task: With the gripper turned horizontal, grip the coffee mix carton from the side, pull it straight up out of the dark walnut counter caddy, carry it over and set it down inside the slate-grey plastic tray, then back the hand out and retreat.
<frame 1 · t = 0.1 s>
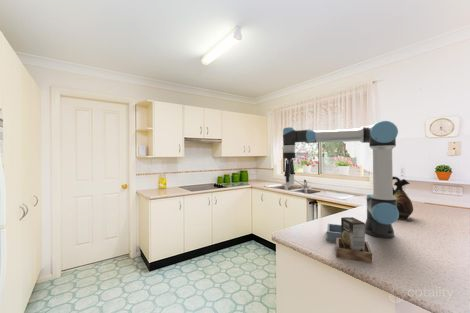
hand: (290, 185, 136), 28 cm above the table, tool pointing down, fingers open, 13 cm apart
walnut caddy: (352, 253, 103), on the table
slate tray: (342, 237, 122), on the table
ceramic jug: (398, 217, 158), on the table
coffee box: (352, 253, 103), resting in walnut caddy
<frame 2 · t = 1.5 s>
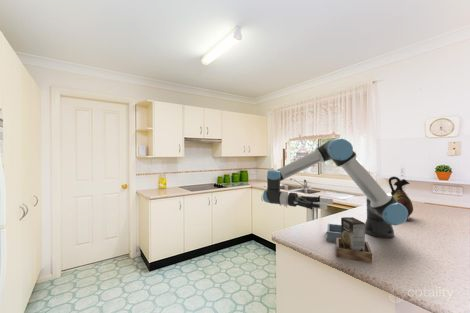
hand: (330, 204, 108), 22 cm above the table, tool horizontal, fingers open, 13 cm apart
nothing on the table moved.
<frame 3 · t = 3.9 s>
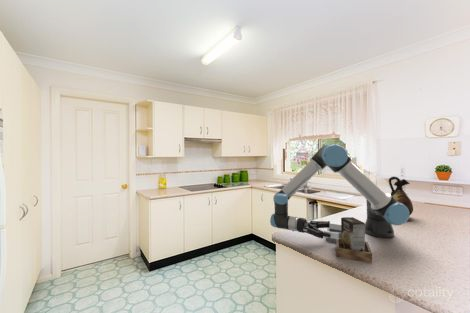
hand: (341, 231, 105), 9 cm above the table, tool horizontal, fingers open, 13 cm apart
nothing on the table moved.
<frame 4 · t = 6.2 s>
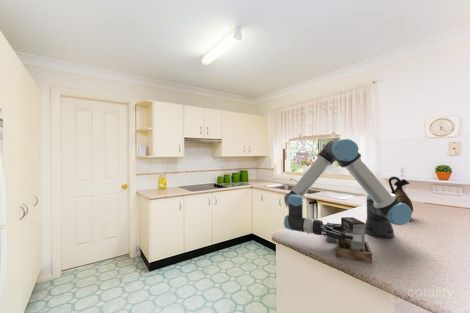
hand: (362, 234, 100), 10 cm above the table, tool horizontal, fingers closed on coffee box, 10 cm apart
coffee box: (352, 253, 103), resting in walnut caddy, touching gripper
everything else where it was.
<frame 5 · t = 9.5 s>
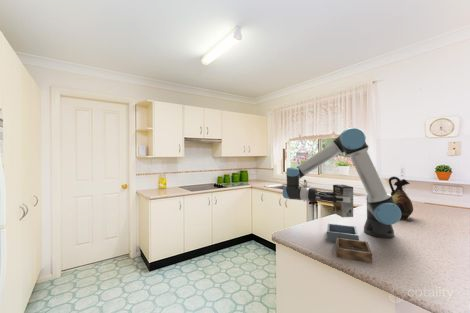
hand: (351, 198, 115), 24 cm above the table, tool horizontal, fingers closed on coffee box, 10 cm apart
coffee box: (343, 215, 117), point 14 cm above the table, touching gripper
everything else where it was.
when the fingers open (12 cm above the table, at t = 13.1 s): coffee box drops 1 cm, resting on slate tray.
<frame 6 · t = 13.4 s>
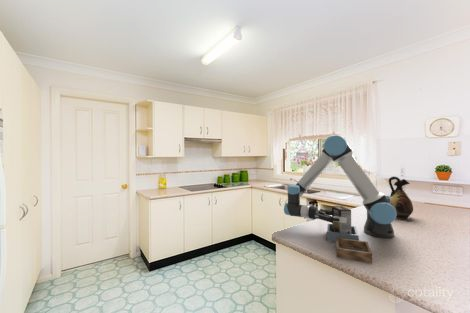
hand: (348, 217, 120), 12 cm above the table, tool horizontal, fingers open, 13 cm apart
coffee box: (341, 236, 122), point 1 cm above the table, touching slate tray
everything else where it was.
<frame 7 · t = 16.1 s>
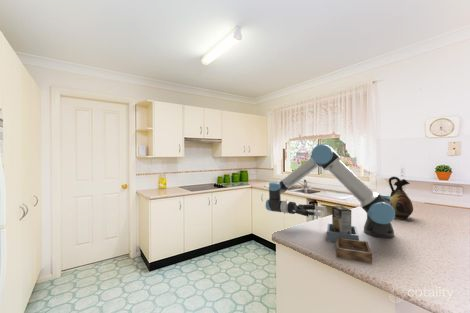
hand: (323, 211, 127), 14 cm above the table, tool horizontal, fingers open, 13 cm apart
nothing on the table moved.
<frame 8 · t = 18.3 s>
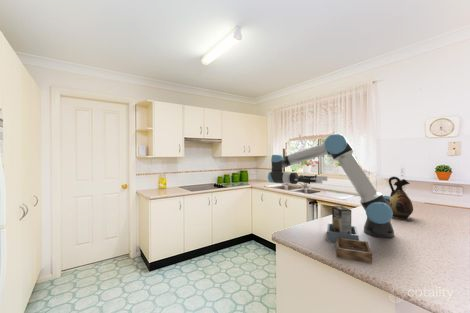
hand: (324, 179, 130), 32 cm above the table, tool horizontal, fingers open, 13 cm apart
nothing on the table moved.
at the end: coffee box inside the target area on the slate tray (0.2 cm from its centre), point 0.8 cm above the slate tray's base; coffee box tilted 0°; the gripper is holding nothing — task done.
